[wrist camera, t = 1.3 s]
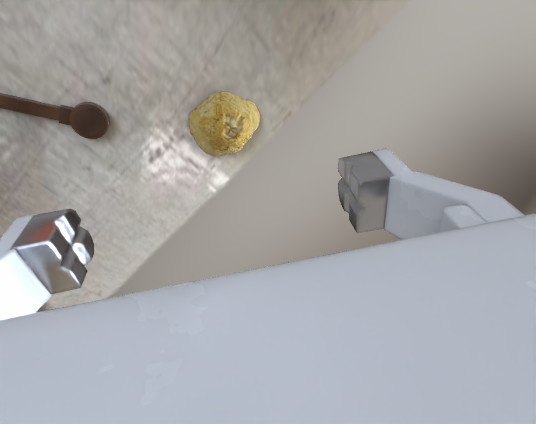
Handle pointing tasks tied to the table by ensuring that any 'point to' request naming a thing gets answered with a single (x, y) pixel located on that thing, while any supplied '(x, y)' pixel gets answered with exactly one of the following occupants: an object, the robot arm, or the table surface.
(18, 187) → the table surface
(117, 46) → the table surface
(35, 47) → the table surface
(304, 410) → the robot arm
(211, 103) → the fossil
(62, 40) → the table surface
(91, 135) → the spoon
